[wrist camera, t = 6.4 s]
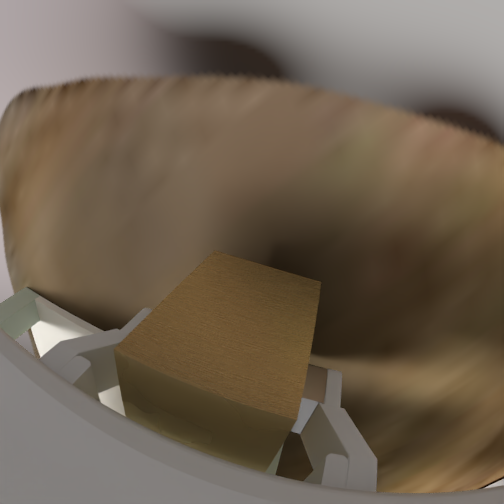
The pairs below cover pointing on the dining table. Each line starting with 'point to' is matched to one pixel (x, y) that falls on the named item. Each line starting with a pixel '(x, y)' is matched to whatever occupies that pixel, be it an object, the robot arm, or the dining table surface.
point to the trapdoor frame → (59, 335)
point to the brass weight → (223, 360)
